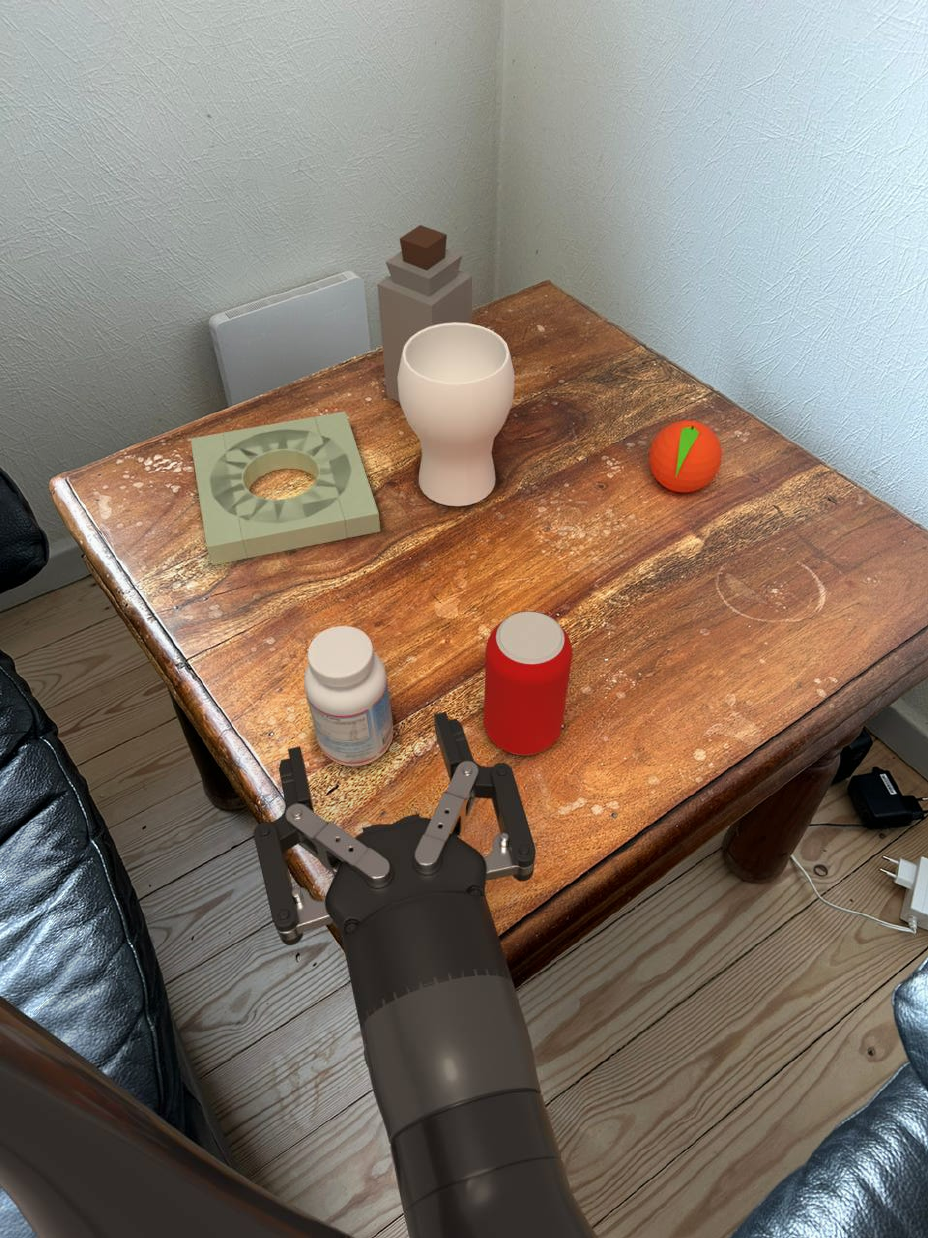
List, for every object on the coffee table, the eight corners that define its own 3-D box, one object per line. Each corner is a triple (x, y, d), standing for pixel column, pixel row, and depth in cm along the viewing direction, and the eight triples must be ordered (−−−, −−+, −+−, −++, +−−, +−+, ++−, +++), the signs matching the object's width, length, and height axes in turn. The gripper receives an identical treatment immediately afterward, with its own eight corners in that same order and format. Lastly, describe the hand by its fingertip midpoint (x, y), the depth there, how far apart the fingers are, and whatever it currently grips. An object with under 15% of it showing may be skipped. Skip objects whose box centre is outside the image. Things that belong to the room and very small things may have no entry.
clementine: (703, 521, 89) (718, 465, 83) (633, 503, 90) (644, 446, 85) (720, 470, 94) (736, 413, 88) (653, 453, 95) (665, 397, 90)
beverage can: (570, 754, 72) (585, 661, 63) (493, 768, 71) (497, 677, 62) (549, 691, 76) (561, 596, 67) (476, 704, 75) (477, 609, 66)
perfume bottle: (423, 366, 105) (417, 212, 91) (471, 387, 103) (472, 232, 89) (386, 396, 102) (373, 240, 88) (435, 418, 99) (430, 261, 85)
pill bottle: (359, 692, 76) (345, 603, 67) (409, 737, 73) (401, 650, 65) (301, 736, 73) (279, 649, 65) (351, 784, 71) (334, 700, 62)
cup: (506, 445, 96) (512, 317, 85) (513, 516, 89) (520, 387, 78) (405, 447, 96) (396, 319, 84) (403, 518, 89) (394, 389, 78)
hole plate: (212, 565, 85) (206, 546, 83) (195, 457, 95) (190, 438, 93) (380, 531, 88) (378, 512, 86) (347, 429, 98) (345, 410, 96)
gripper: (589, 945, 42) (486, 670, 52) (277, 1037, 39) (232, 730, 49) (575, 999, 47) (484, 742, 58) (302, 1082, 45) (257, 799, 55)
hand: (368, 737), depth 53 cm, fingers open, 8 cm apart
